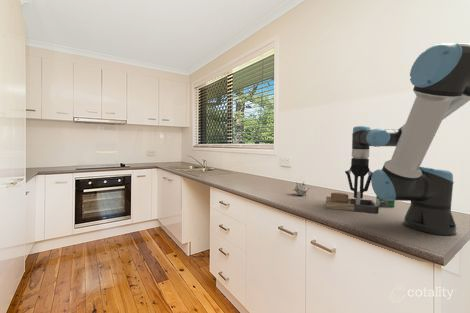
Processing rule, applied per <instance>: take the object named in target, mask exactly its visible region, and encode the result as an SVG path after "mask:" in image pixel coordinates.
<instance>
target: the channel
mask: <svg viewBox="0 0 470 313" xmlns="http://www.w3.org/2000/svg"><path fill="white" fill-rule="evenodd" d="M325 202H326V209H332V210H343V211H352V212H362V213H369V214H379V210H380V209H379V208H380V207H378V206H377V205H376V202H374V200H373V199H363V198H362V199H360V205H357V204H356V198H351V197H348V204H346V203H336V202H331V196H328V195H327V196H326V197H325Z"/></svg>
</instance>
